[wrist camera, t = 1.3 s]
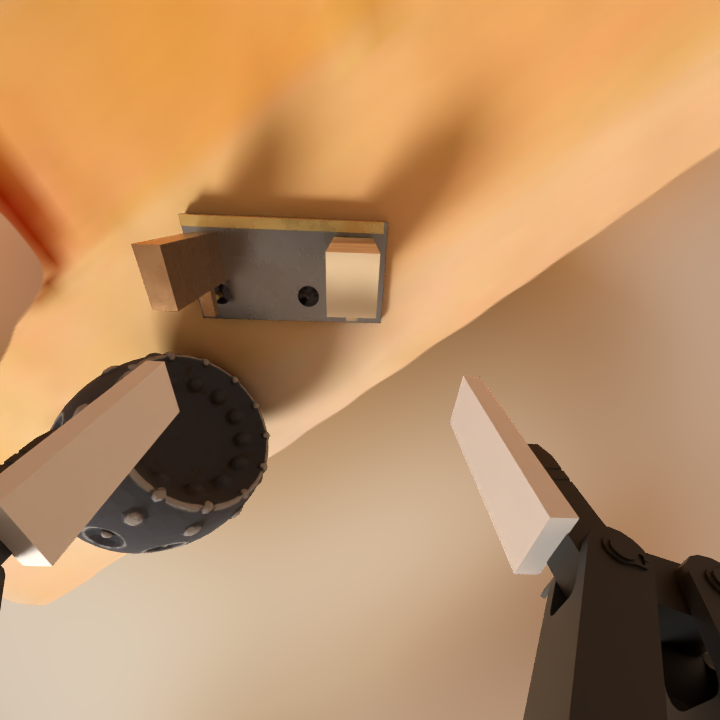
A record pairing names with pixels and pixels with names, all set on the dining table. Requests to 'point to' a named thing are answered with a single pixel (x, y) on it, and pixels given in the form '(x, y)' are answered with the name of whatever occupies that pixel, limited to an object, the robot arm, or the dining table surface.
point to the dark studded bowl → (181, 460)
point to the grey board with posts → (251, 266)
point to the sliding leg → (352, 278)
